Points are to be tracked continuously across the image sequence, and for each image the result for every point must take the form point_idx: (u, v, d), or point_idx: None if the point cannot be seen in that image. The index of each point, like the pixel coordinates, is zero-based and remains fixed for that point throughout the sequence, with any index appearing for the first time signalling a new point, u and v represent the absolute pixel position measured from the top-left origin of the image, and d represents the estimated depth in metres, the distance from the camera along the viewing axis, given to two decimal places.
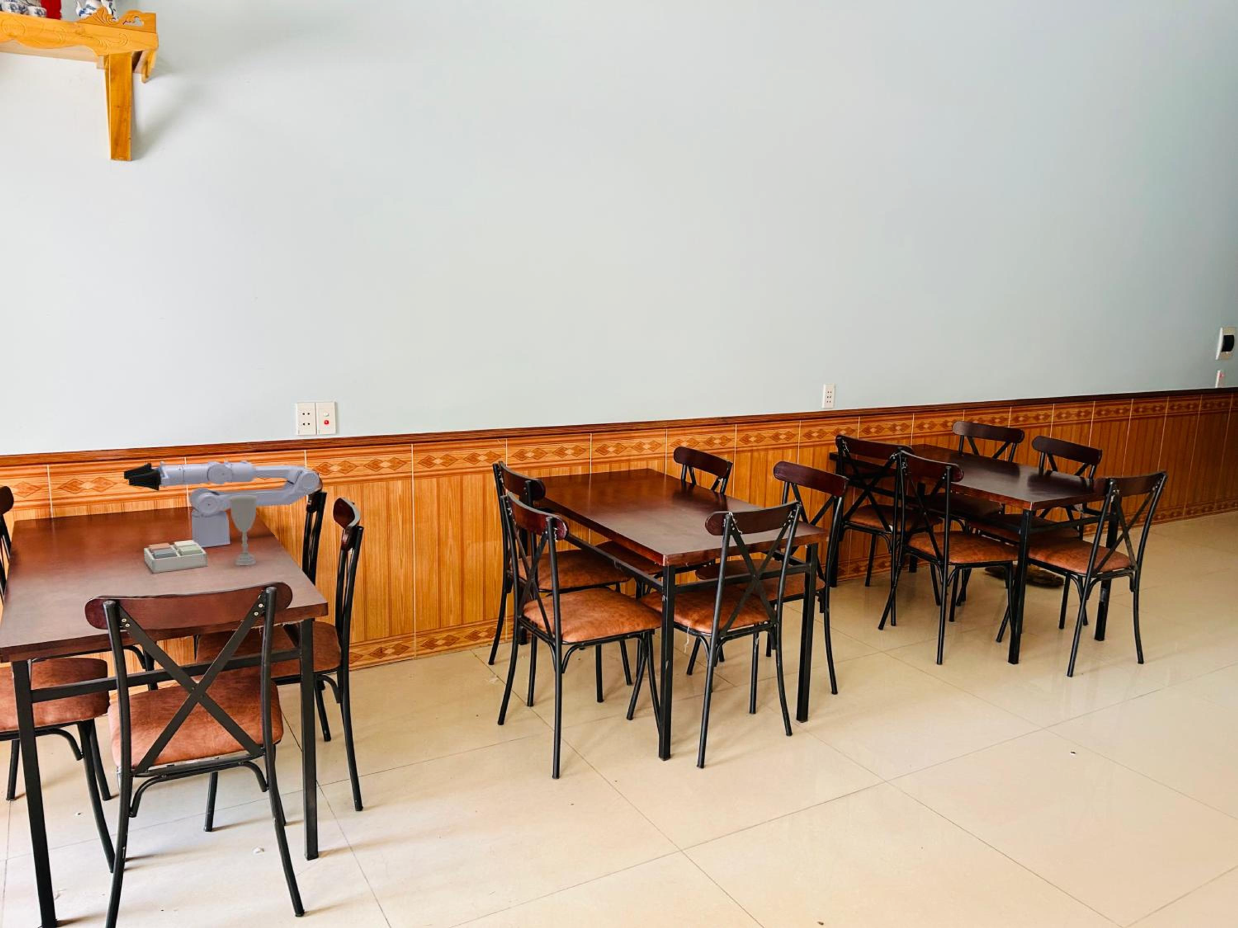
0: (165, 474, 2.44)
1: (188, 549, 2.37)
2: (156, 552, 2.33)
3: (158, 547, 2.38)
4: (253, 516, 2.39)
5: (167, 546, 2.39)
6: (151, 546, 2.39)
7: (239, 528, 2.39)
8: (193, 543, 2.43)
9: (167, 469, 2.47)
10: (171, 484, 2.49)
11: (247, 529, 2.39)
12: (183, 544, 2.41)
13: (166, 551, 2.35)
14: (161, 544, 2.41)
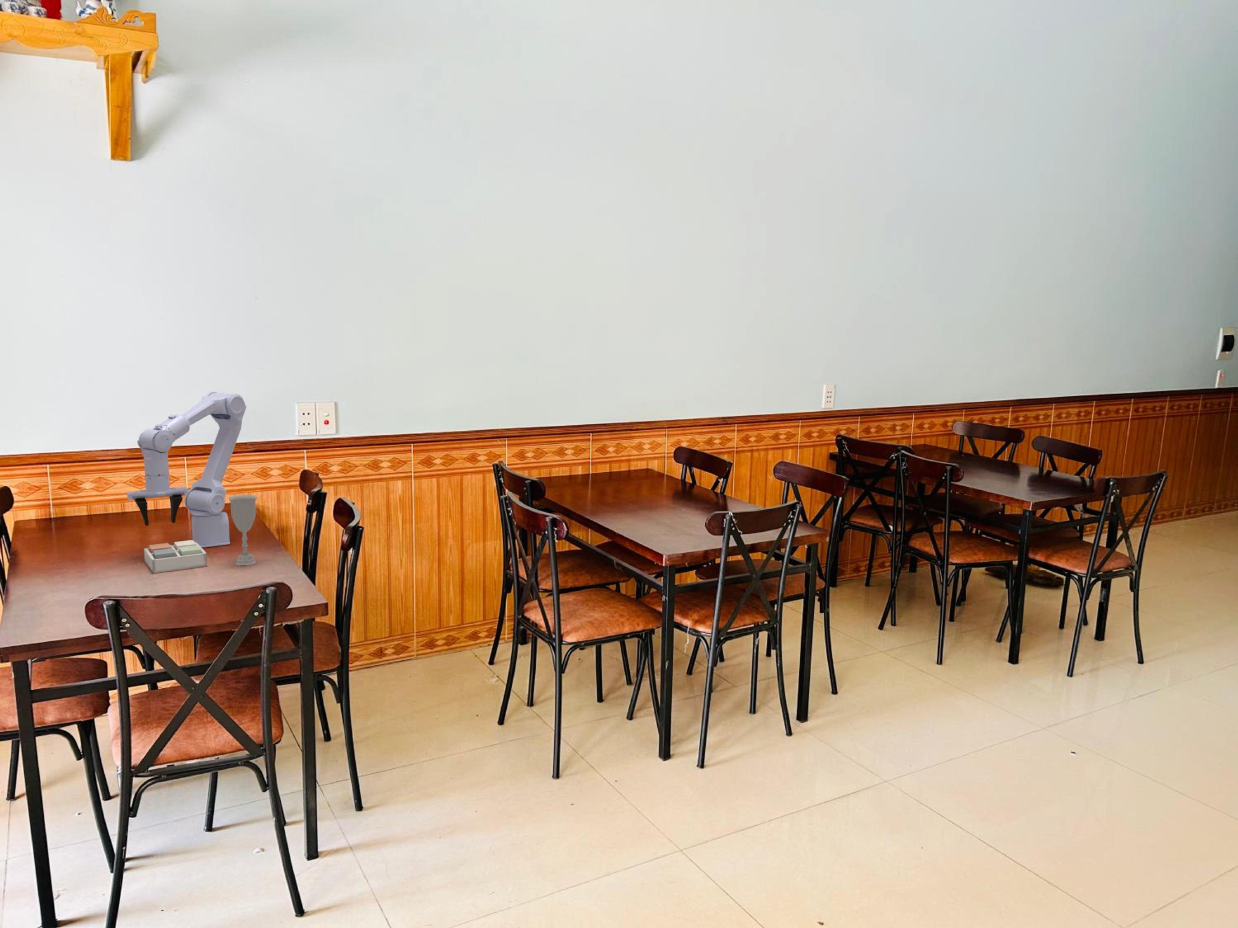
0: (178, 491, 2.43)
1: (188, 549, 2.37)
2: (156, 552, 2.33)
3: (158, 547, 2.38)
4: (253, 516, 2.39)
5: (167, 546, 2.39)
6: (151, 546, 2.39)
7: (239, 528, 2.39)
8: (193, 543, 2.43)
9: (166, 489, 2.41)
10: None
11: (247, 529, 2.39)
12: (183, 544, 2.41)
13: (166, 551, 2.35)
14: (161, 544, 2.41)
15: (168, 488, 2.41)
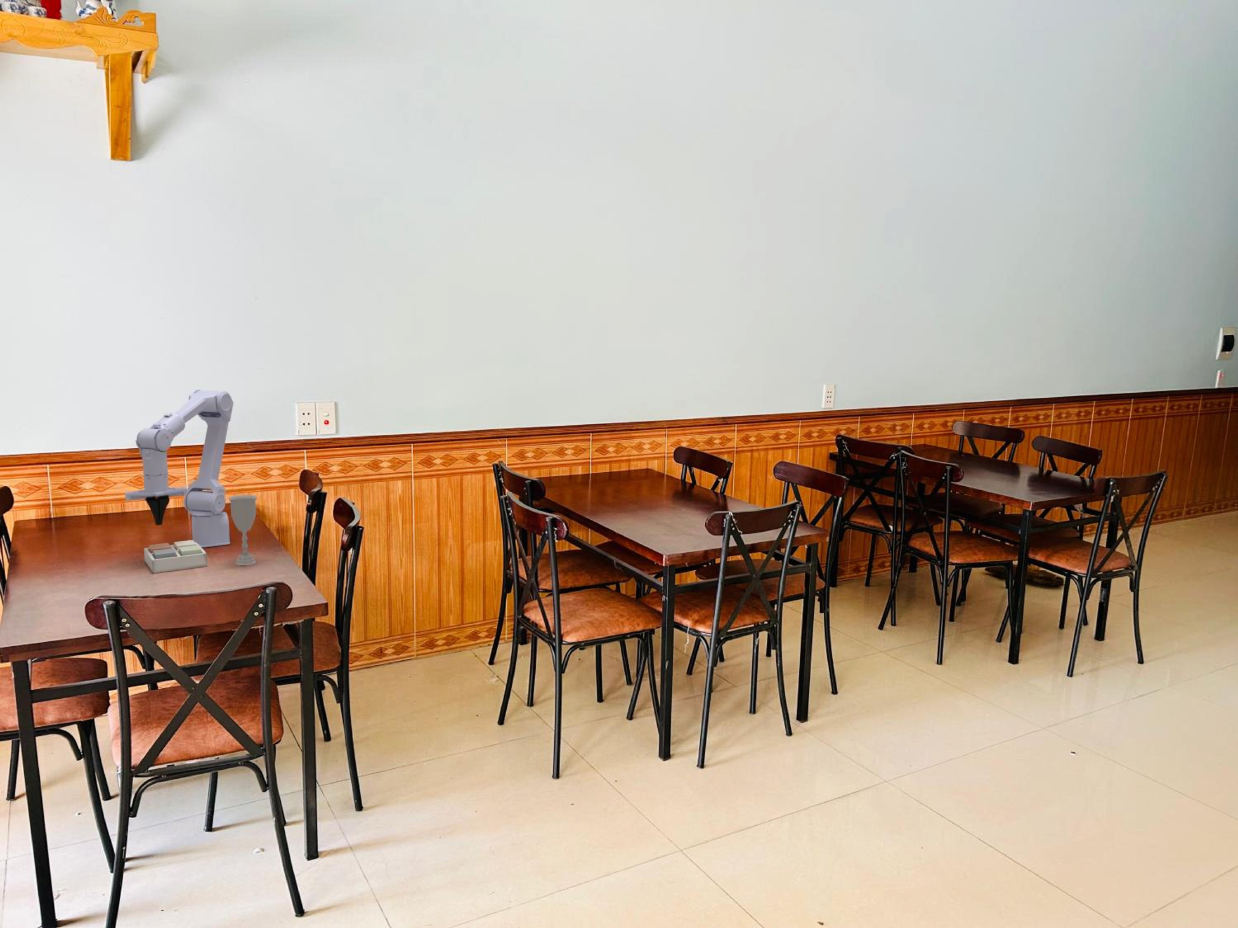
0: (177, 491, 2.38)
1: (188, 549, 2.37)
2: (156, 552, 2.33)
3: (158, 547, 2.38)
4: (253, 516, 2.39)
5: (167, 546, 2.39)
6: (151, 546, 2.39)
7: (239, 528, 2.39)
8: (193, 543, 2.43)
9: (165, 489, 2.36)
10: None
11: (247, 529, 2.39)
12: (183, 544, 2.41)
13: (166, 551, 2.35)
14: (161, 544, 2.41)
15: (167, 488, 2.37)
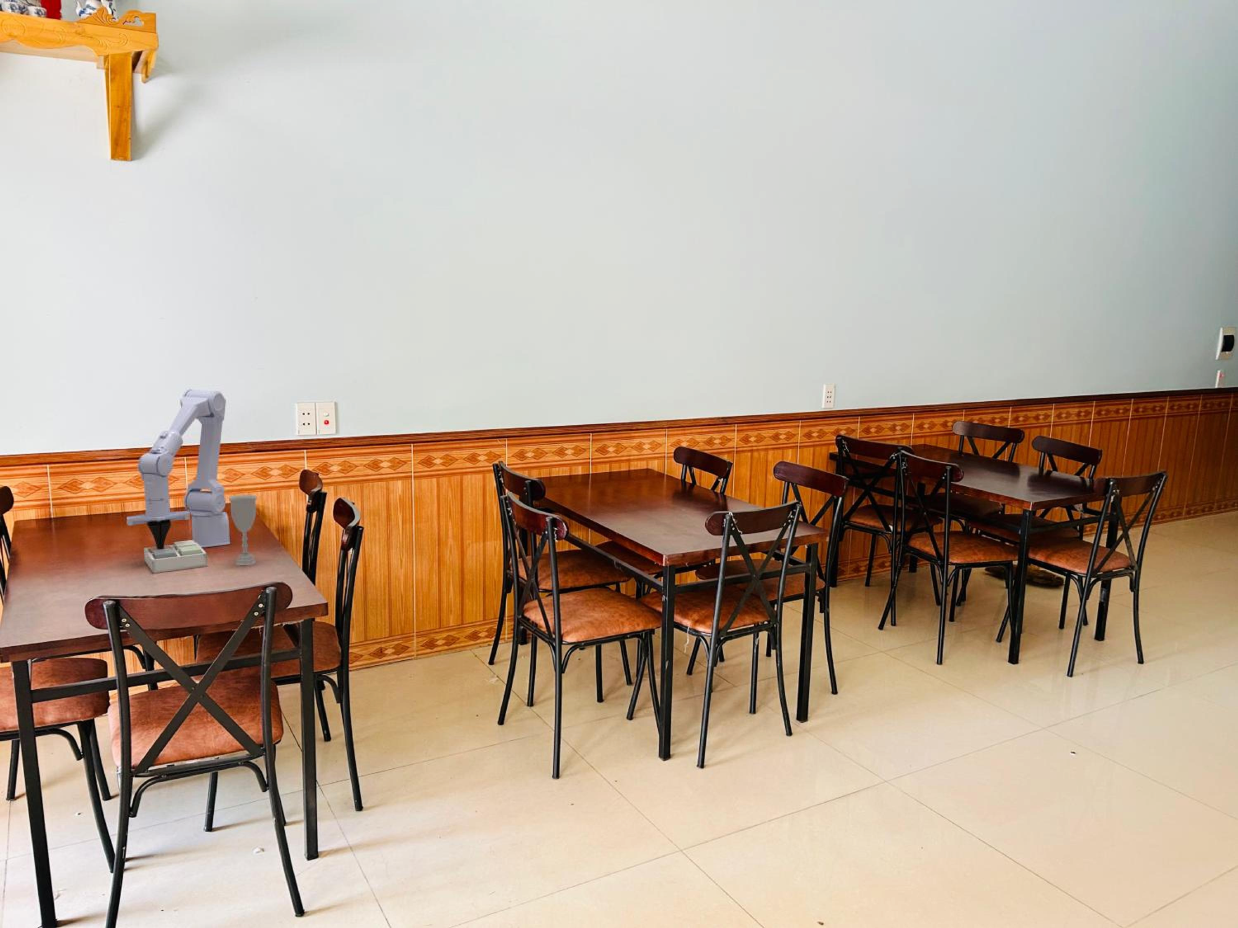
0: (179, 515, 2.39)
1: (188, 549, 2.37)
2: (156, 552, 2.33)
3: (158, 549, 2.38)
4: (253, 516, 2.39)
5: (167, 548, 2.39)
6: (151, 548, 2.39)
7: (239, 528, 2.39)
8: (193, 543, 2.43)
9: (167, 513, 2.37)
10: None
11: (247, 529, 2.39)
12: (183, 544, 2.41)
13: (166, 551, 2.35)
14: None
15: (168, 512, 2.38)
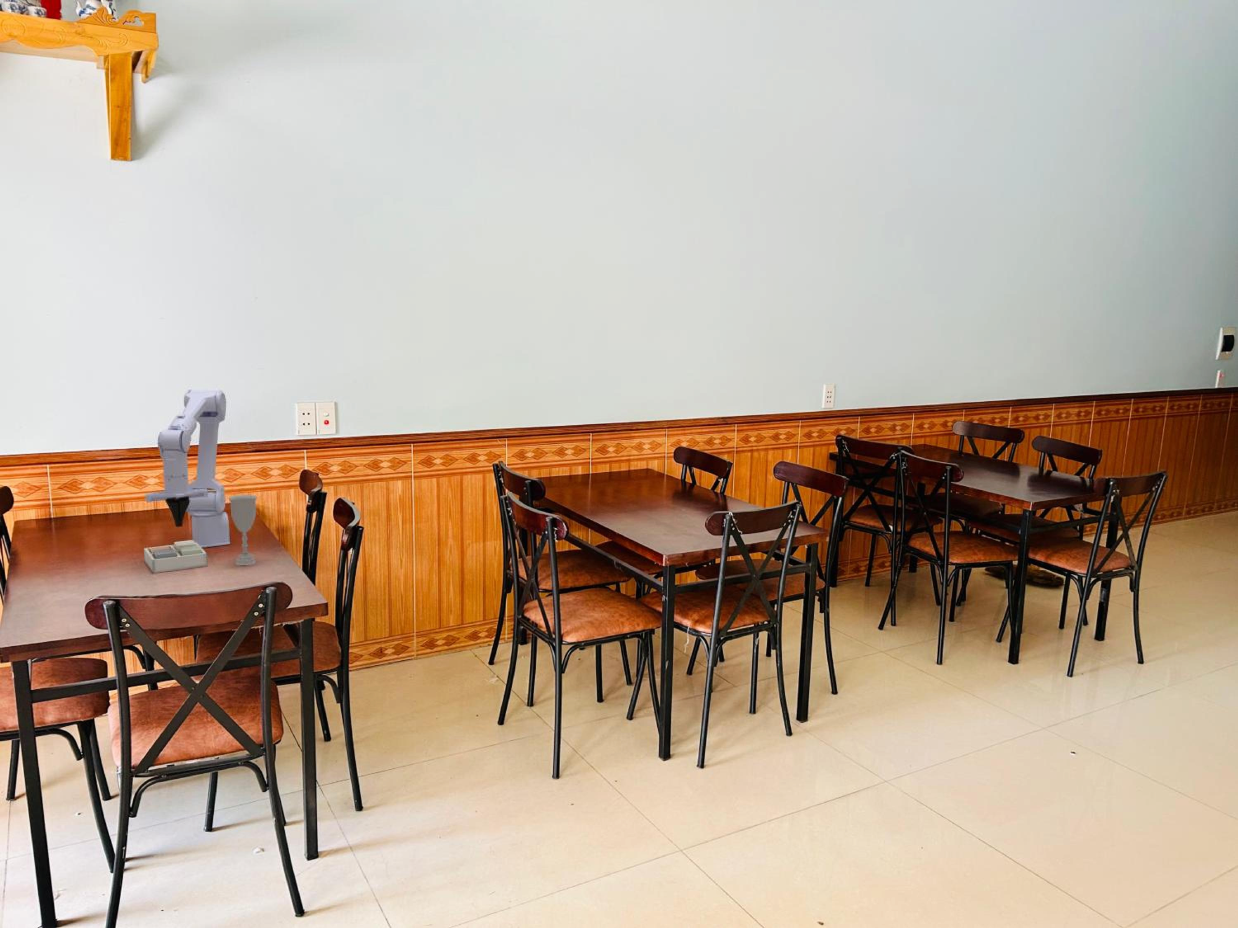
0: (197, 493, 2.37)
1: (188, 549, 2.37)
2: (156, 552, 2.33)
3: None
4: (253, 516, 2.39)
5: None
6: (151, 549, 2.39)
7: (239, 528, 2.39)
8: (193, 543, 2.43)
9: (185, 490, 2.35)
10: None
11: (247, 529, 2.39)
12: (183, 544, 2.41)
13: (166, 551, 2.35)
14: (161, 547, 2.41)
15: (187, 490, 2.36)
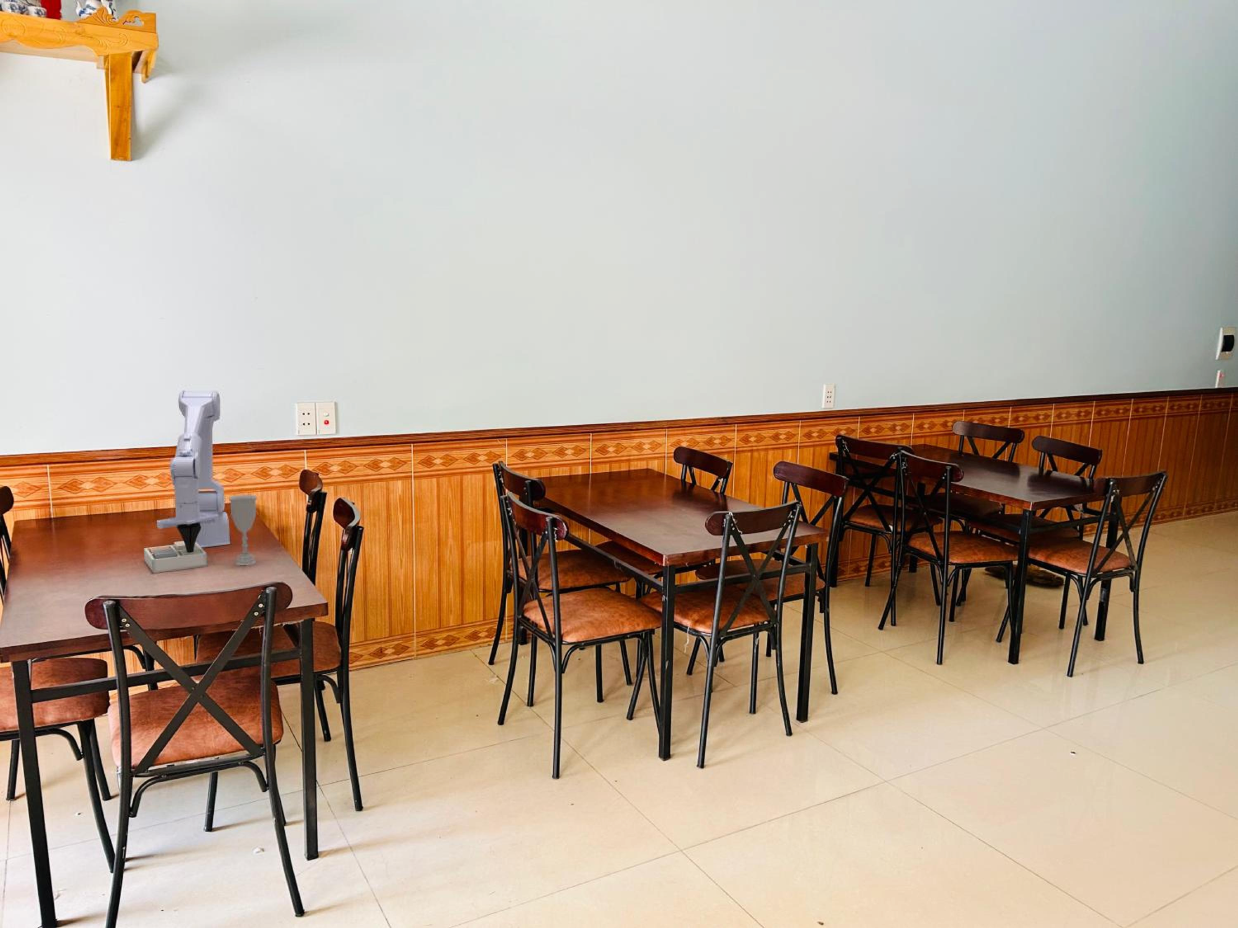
0: (209, 518, 2.38)
1: None
2: (156, 552, 2.33)
3: None
4: (253, 516, 2.39)
5: None
6: (151, 549, 2.39)
7: (239, 528, 2.39)
8: None
9: (197, 516, 2.36)
10: None
11: (247, 529, 2.39)
12: (183, 544, 2.41)
13: (166, 551, 2.35)
14: (161, 547, 2.41)
15: (198, 516, 2.36)
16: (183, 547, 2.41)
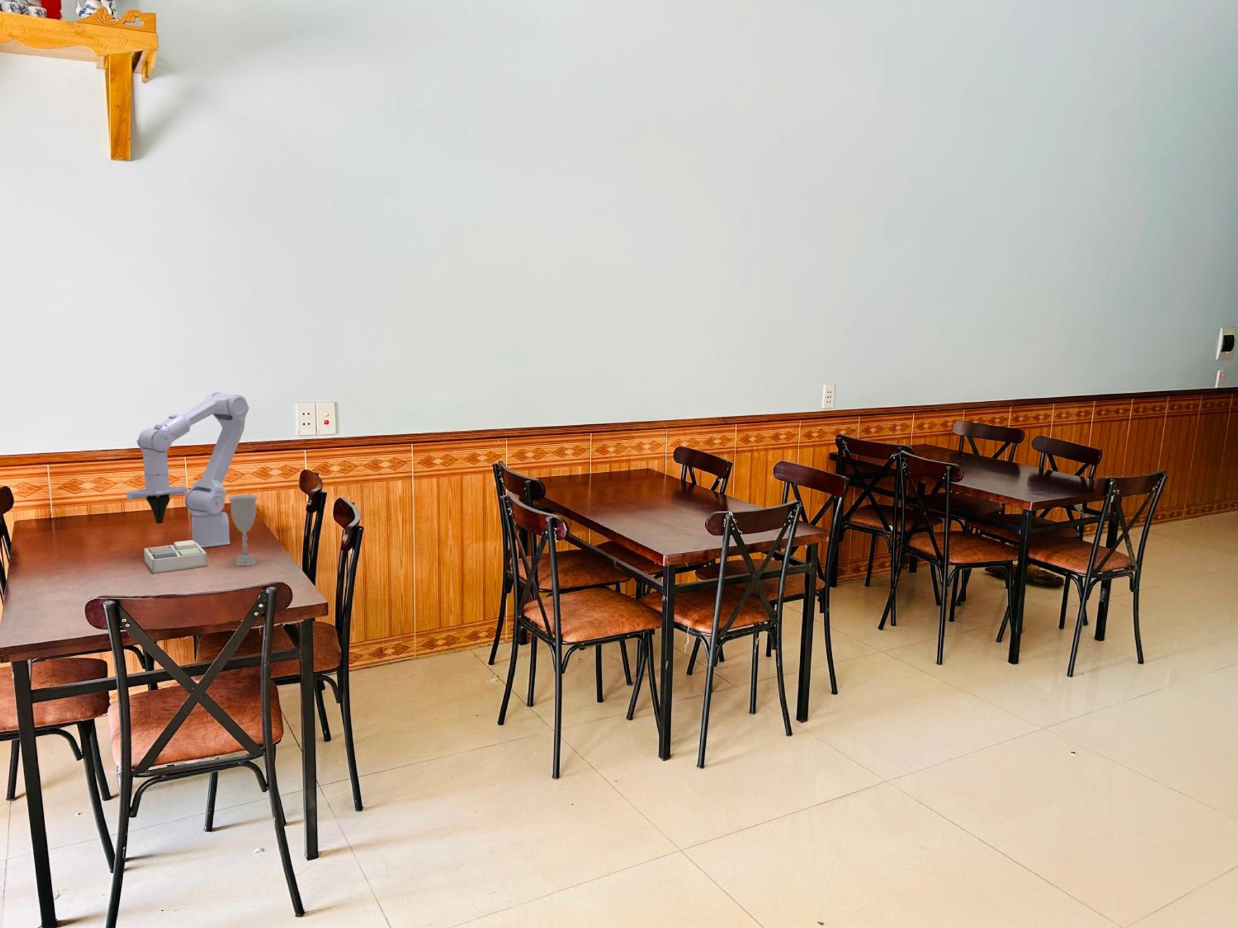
0: (178, 490, 2.44)
1: (188, 552, 2.37)
2: (156, 552, 2.33)
3: None
4: (253, 516, 2.39)
5: None
6: (151, 549, 2.39)
7: (239, 528, 2.39)
8: (193, 543, 2.43)
9: (166, 488, 2.41)
10: None
11: (247, 529, 2.39)
12: (183, 544, 2.41)
13: (166, 551, 2.35)
14: (161, 547, 2.41)
15: (167, 487, 2.42)
16: (183, 547, 2.41)
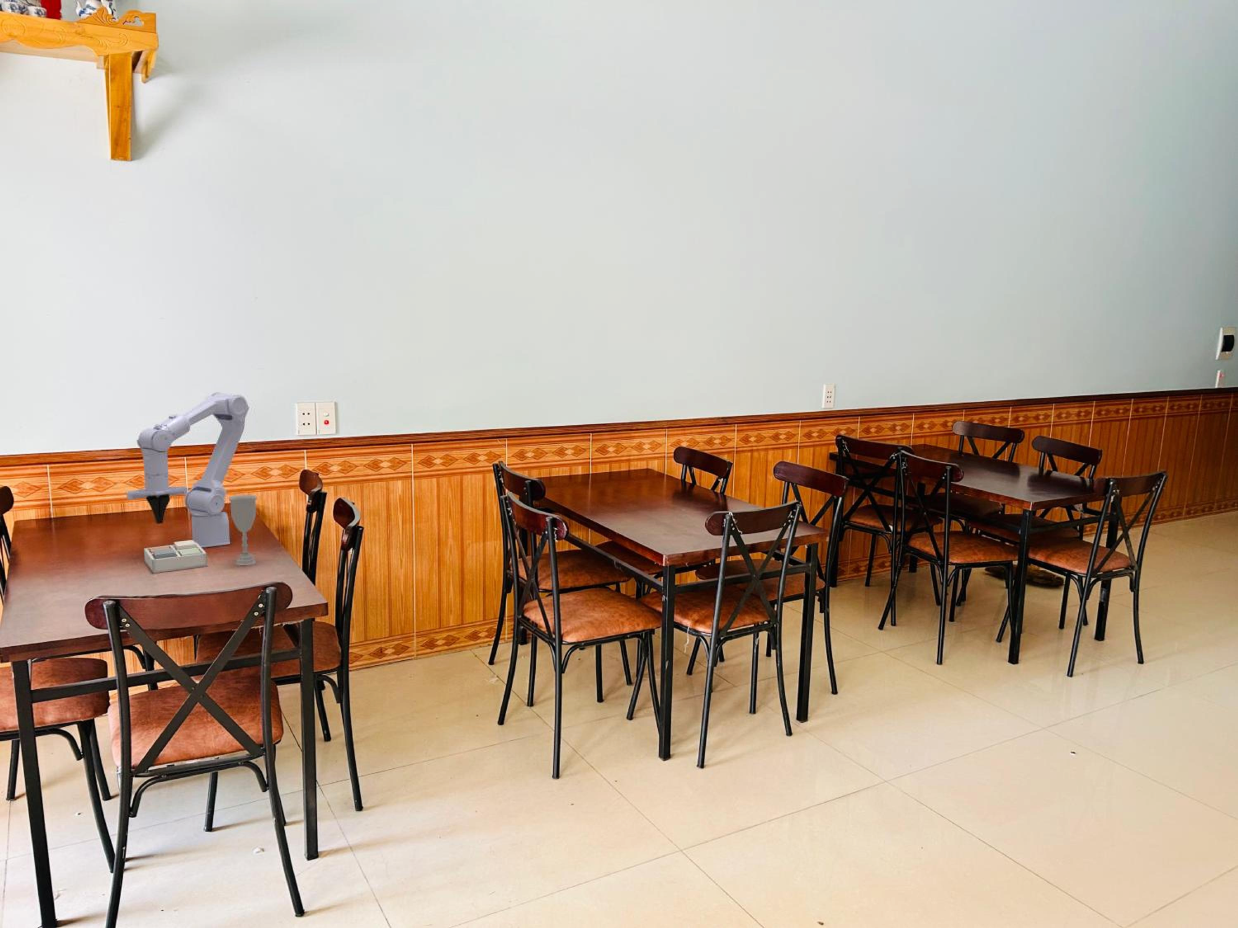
0: (178, 490, 2.44)
1: (188, 552, 2.37)
2: (156, 552, 2.33)
3: None
4: (253, 516, 2.39)
5: None
6: (151, 549, 2.39)
7: (239, 528, 2.39)
8: (193, 543, 2.43)
9: (166, 488, 2.41)
10: None
11: (247, 529, 2.39)
12: (183, 544, 2.41)
13: (166, 551, 2.35)
14: (161, 547, 2.41)
15: (167, 487, 2.42)
16: (183, 547, 2.41)
